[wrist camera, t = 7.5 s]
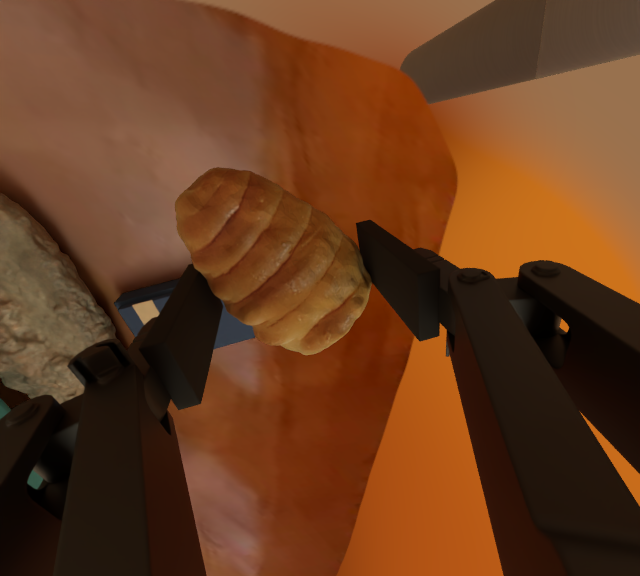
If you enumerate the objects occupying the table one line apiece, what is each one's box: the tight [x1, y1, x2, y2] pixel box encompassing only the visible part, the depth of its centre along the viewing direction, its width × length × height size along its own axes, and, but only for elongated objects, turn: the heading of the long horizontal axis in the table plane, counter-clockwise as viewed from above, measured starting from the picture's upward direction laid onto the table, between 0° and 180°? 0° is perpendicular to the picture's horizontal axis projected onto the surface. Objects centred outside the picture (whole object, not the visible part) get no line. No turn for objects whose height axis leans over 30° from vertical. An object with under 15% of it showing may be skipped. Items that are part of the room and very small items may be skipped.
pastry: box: [175, 167, 372, 355], centre depth 13 cm, size 9×7×4 cm
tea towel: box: [114, 279, 255, 349], centre depth 27 cm, size 20×7×3 cm, turn 102°
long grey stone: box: [0, 193, 117, 404], centre depth 26 cm, size 35×5×10 cm
